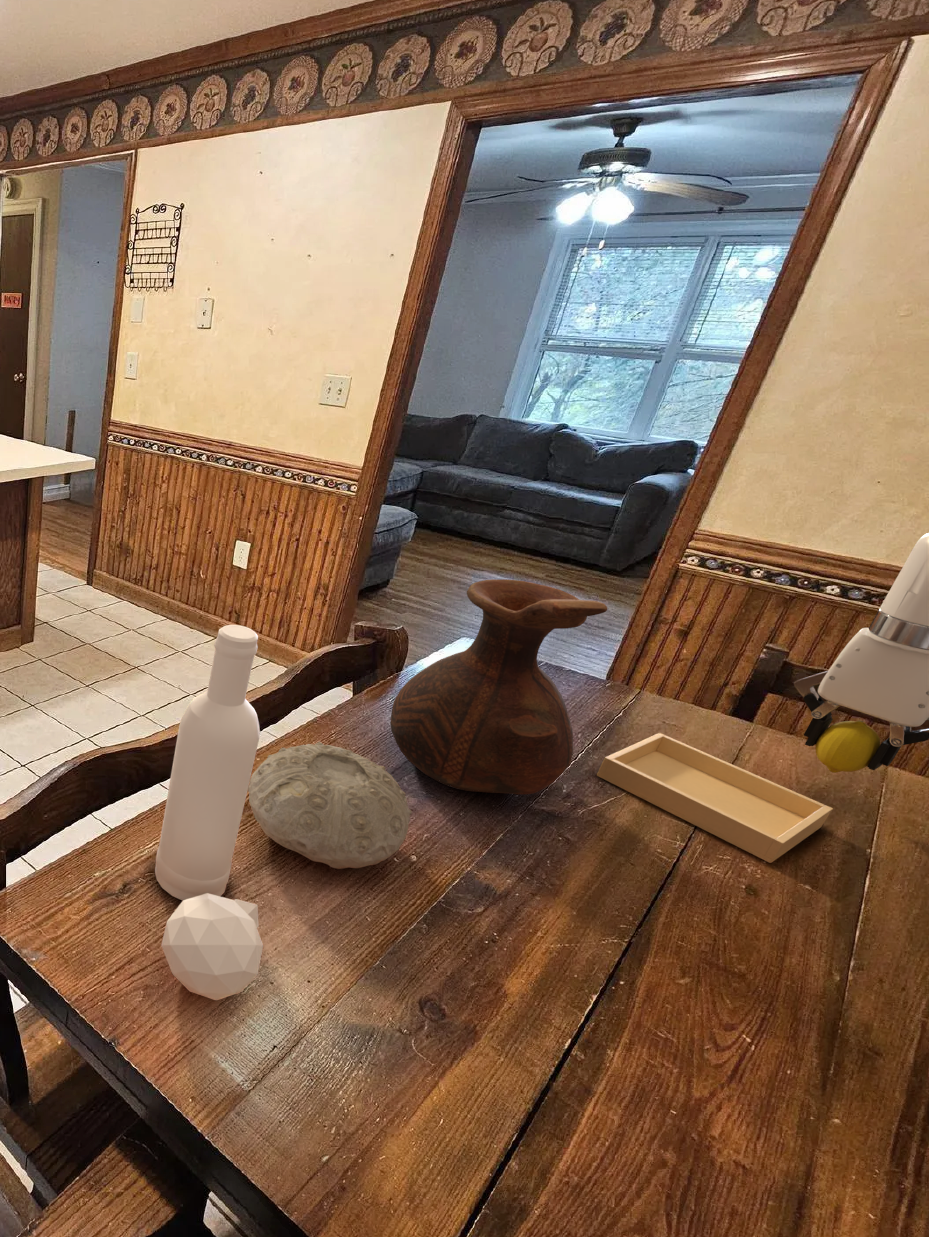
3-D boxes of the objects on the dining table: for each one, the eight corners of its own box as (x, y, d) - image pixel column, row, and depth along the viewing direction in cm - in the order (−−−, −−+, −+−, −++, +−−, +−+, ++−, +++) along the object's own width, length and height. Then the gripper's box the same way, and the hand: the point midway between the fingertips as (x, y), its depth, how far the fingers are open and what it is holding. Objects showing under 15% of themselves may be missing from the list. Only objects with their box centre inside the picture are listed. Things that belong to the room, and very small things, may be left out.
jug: (350, 760, 105) (409, 559, 92) (416, 713, 118) (476, 531, 105) (519, 843, 91) (618, 618, 77) (573, 779, 104) (665, 577, 91)
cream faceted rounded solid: (236, 1036, 63) (292, 965, 72) (230, 935, 61) (288, 876, 70) (147, 1000, 69) (209, 939, 77) (140, 908, 67) (204, 857, 76)
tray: (820, 827, 97) (833, 808, 96) (770, 863, 90) (783, 843, 89) (650, 749, 112) (659, 732, 111) (596, 775, 105) (604, 757, 104)
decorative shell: (347, 913, 79) (371, 839, 74) (212, 823, 91) (226, 755, 86) (424, 846, 89) (449, 777, 85) (294, 774, 101) (310, 710, 97)
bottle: (162, 845, 87) (203, 608, 74) (231, 865, 84) (285, 624, 71) (146, 891, 80) (188, 639, 67) (220, 914, 78) (279, 657, 64)
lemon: (822, 780, 100) (852, 728, 96) (794, 757, 104) (822, 708, 101) (872, 787, 98) (904, 735, 95) (841, 764, 103) (871, 714, 100)
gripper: (1029, 653, 88) (943, 781, 95) (834, 604, 101) (773, 719, 109) (1011, 665, 84) (923, 797, 92) (811, 612, 98) (750, 731, 105)
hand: (842, 753), depth 100 cm, fingers closed on lemon, 5 cm apart
